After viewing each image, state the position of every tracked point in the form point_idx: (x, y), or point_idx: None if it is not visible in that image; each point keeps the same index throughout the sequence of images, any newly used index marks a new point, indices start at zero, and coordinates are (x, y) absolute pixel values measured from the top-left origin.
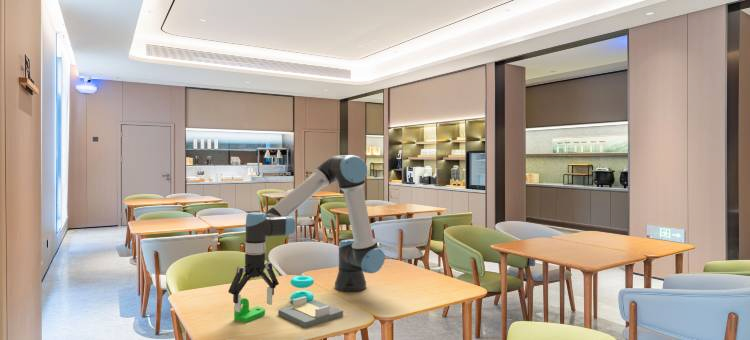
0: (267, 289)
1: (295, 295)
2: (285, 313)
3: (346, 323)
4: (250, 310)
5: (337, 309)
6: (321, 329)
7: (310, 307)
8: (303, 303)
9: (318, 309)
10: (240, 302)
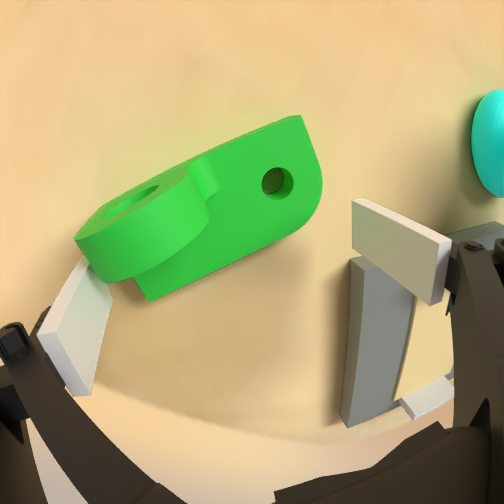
0: (422, 244)
1: (501, 152)
2: (359, 330)
3: None
4: (225, 172)
5: None
6: (361, 428)
7: None
8: None
9: (417, 417)
10: (101, 344)
